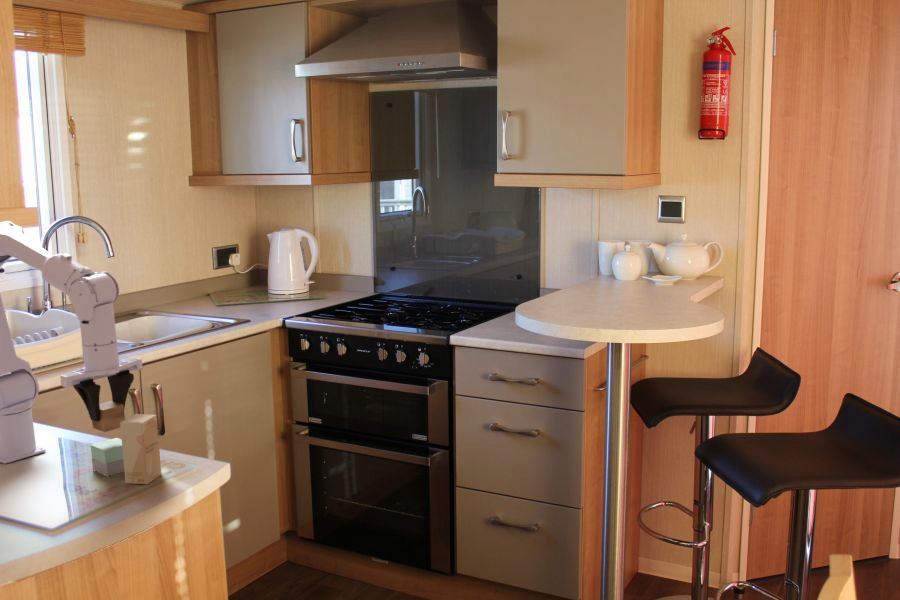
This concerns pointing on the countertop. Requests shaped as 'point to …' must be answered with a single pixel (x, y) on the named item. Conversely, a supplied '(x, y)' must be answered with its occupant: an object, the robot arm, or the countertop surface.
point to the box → (140, 448)
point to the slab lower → (108, 467)
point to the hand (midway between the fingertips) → (107, 416)
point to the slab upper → (107, 451)
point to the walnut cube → (109, 416)
